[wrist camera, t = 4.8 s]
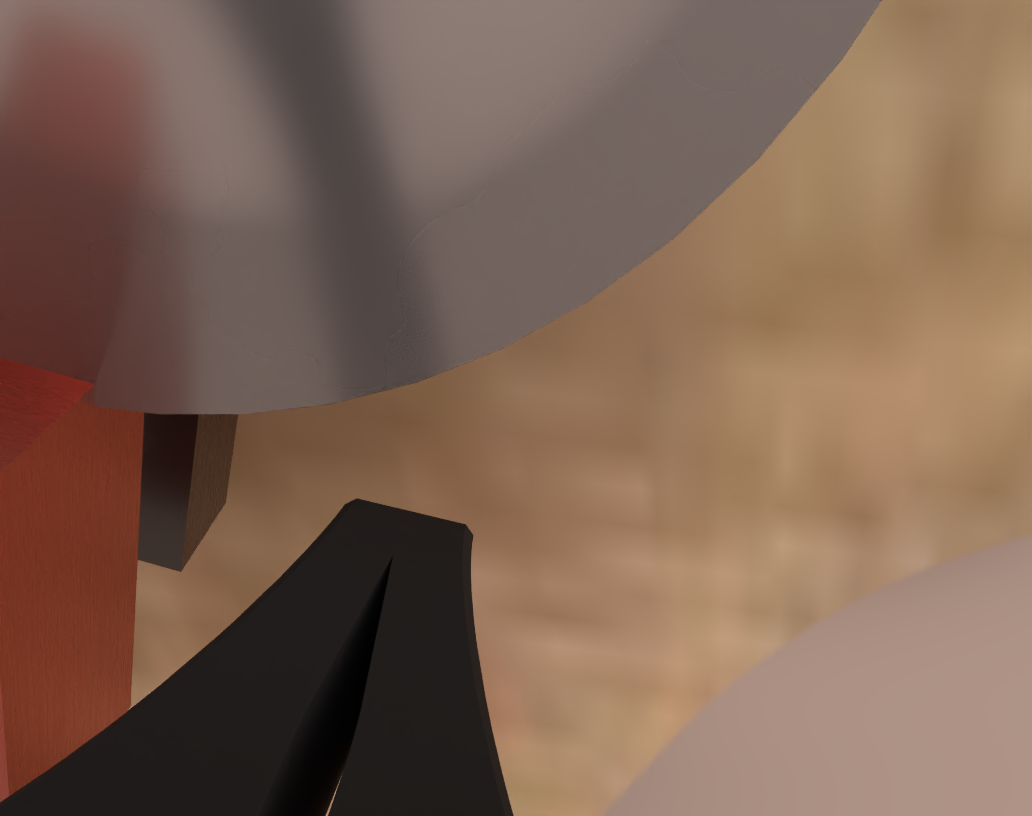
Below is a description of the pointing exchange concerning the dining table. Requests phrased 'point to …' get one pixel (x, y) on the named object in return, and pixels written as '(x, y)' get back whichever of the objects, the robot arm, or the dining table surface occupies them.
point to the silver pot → (182, 483)
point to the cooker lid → (314, 238)
